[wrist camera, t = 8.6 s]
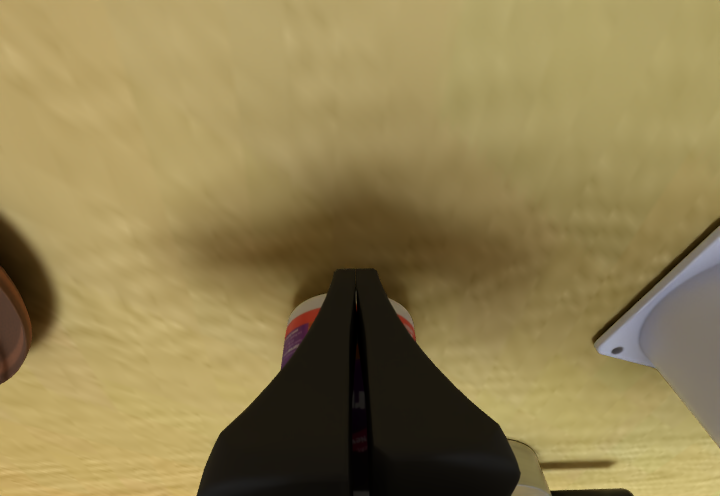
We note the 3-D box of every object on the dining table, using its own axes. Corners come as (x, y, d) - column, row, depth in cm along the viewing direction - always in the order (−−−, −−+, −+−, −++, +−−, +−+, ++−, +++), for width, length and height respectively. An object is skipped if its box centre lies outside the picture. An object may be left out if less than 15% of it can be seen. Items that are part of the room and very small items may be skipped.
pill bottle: (435, 299, 15) (492, 658, 9) (385, 352, 19) (400, 624, 13) (301, 275, 13) (257, 682, 7) (277, 338, 17) (236, 636, 11)
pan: (415, 494, 28) (421, 539, 26) (424, 440, 24) (433, 489, 21) (594, 488, 28) (615, 533, 26) (638, 433, 24) (669, 481, 21)
